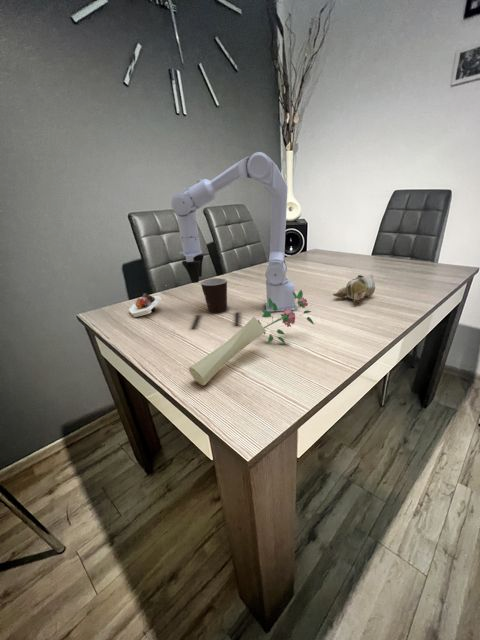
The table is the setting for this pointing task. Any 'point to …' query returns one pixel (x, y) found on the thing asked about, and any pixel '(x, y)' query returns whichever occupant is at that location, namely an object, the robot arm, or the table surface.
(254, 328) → the flower vase
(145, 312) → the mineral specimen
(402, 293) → the table surface
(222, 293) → the coffee mug
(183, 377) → the table surface
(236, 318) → the guide strips
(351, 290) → the ceramic sculpture
